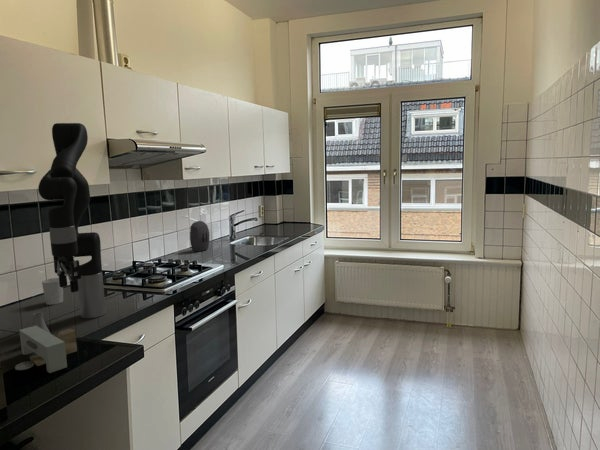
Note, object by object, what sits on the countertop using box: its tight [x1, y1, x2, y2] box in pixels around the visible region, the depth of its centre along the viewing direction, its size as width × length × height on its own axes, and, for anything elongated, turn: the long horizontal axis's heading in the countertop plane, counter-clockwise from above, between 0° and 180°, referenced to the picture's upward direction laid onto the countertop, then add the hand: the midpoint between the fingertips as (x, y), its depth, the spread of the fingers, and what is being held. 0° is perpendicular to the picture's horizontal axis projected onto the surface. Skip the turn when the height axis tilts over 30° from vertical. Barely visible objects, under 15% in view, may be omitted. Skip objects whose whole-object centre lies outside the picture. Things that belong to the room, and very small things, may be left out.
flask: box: [32, 311, 52, 334], centre depth 159 cm, size 7×7×10 cm
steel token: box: [14, 360, 35, 371], centre depth 140 cm, size 5×5×1 cm
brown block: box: [29, 328, 78, 367], centre depth 146 cm, size 6×12×7 cm, turn 139°
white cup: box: [41, 277, 64, 306], centre depth 202 cm, size 8×8×10 cm
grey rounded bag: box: [189, 220, 210, 252], centre depth 304 cm, size 15×8×20 cm, turn 150°
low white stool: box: [18, 325, 68, 374], centre depth 144 cm, size 22×6×8 cm, turn 49°
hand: (69, 289), depth 150 cm, fingers open, 8 cm apart
